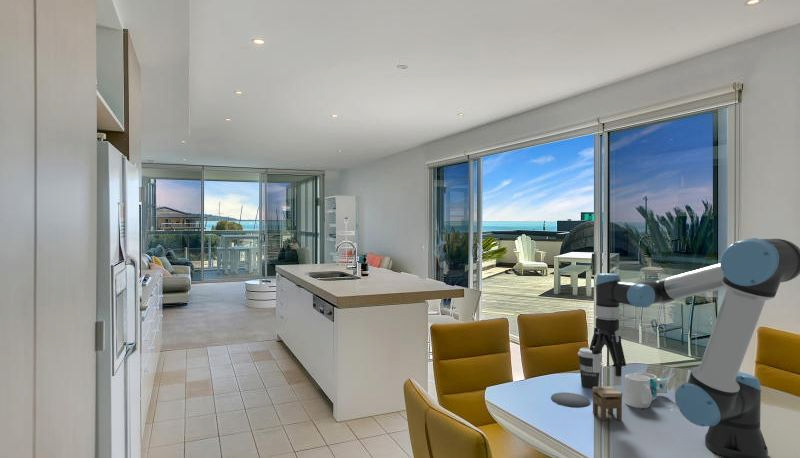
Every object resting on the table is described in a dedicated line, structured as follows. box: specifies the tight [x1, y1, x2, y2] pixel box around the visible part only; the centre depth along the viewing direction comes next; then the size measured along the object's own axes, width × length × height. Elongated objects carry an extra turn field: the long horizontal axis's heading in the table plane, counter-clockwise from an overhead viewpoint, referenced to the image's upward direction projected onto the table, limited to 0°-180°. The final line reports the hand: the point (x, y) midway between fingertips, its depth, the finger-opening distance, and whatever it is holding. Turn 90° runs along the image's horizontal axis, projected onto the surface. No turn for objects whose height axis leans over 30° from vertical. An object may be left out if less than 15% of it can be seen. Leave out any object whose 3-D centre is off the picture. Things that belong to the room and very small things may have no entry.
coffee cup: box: [577, 347, 603, 390], centre depth 196 cm, size 10×10×15 cm
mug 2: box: [633, 371, 668, 401], centre depth 184 cm, size 8×12×8 cm
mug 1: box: [624, 373, 653, 409], centre depth 173 cm, size 12×8×10 cm
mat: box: [550, 392, 591, 408], centre depth 180 cm, size 14×14×1 cm
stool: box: [592, 385, 623, 421], centre depth 164 cm, size 7×7×9 cm
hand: (606, 378), depth 165 cm, fingers open, 13 cm apart
